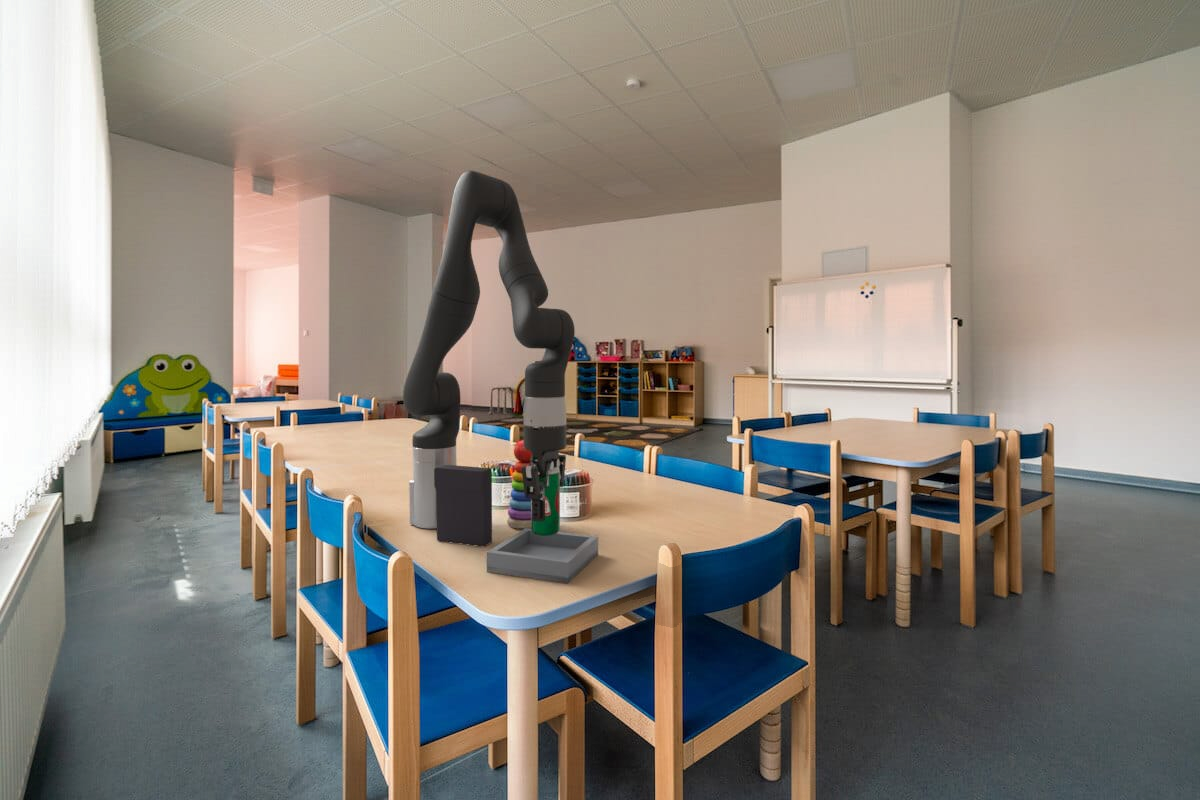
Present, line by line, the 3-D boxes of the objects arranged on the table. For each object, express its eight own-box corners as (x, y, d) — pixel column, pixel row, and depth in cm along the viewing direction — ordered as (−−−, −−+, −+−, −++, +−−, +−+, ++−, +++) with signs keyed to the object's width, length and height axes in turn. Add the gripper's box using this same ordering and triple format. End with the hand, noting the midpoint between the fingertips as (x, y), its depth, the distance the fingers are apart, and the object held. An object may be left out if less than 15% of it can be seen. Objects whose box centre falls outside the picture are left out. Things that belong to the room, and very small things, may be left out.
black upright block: (494, 541, 118) (493, 467, 116) (483, 548, 113) (482, 471, 112) (447, 535, 121) (446, 463, 120) (434, 542, 117) (433, 467, 116)
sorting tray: (486, 571, 101) (486, 552, 101) (525, 545, 115) (525, 528, 115) (567, 583, 96) (567, 562, 96) (598, 554, 110) (598, 536, 110)
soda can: (525, 533, 104) (525, 466, 104) (543, 527, 109) (543, 462, 108) (547, 538, 102) (547, 470, 101) (565, 531, 106) (565, 465, 105)
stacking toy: (550, 526, 128) (550, 441, 127) (517, 532, 124) (516, 443, 123) (533, 518, 135) (533, 436, 134) (501, 523, 130) (500, 439, 129)
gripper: (542, 417, 112) (542, 505, 113) (506, 425, 98) (507, 525, 99) (579, 419, 109) (579, 509, 111) (547, 427, 96) (548, 530, 97)
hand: (545, 516), depth 105 cm, fingers closed on soda can, 5 cm apart
